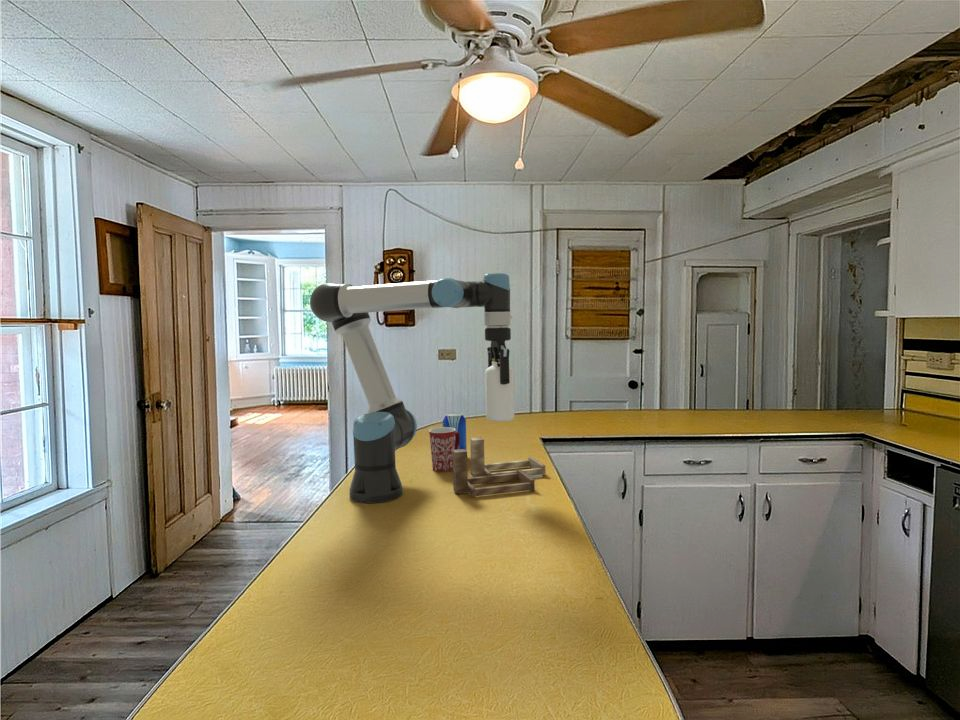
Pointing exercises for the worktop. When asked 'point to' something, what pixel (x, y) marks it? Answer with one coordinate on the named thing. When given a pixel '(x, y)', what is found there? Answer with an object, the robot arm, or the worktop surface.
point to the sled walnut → (486, 479)
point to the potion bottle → (499, 394)
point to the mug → (443, 447)
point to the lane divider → (536, 476)
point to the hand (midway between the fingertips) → (498, 405)
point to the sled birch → (483, 469)
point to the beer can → (457, 426)
